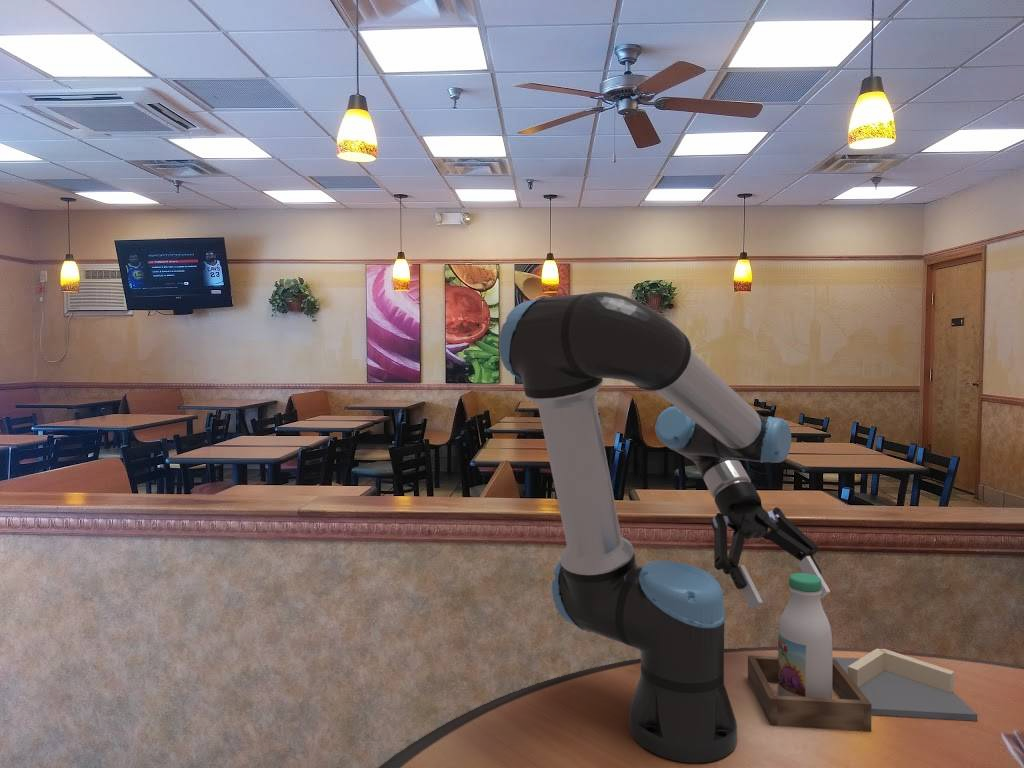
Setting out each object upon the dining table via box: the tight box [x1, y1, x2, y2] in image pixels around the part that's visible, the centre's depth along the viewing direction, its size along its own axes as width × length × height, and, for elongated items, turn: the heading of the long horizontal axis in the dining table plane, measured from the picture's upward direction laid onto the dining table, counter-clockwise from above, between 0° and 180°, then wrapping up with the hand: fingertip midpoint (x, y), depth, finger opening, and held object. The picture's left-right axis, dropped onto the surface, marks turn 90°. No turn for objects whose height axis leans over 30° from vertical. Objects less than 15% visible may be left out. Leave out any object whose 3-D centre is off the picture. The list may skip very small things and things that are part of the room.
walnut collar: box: [747, 655, 872, 732], centre depth 100 cm, size 14×14×4 cm
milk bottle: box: [777, 572, 833, 699], centre depth 100 cm, size 8×8×20 cm
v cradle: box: [832, 647, 978, 722], centre depth 104 cm, size 16×17×4 cm
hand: (791, 600), depth 105 cm, fingers open, 13 cm apart
